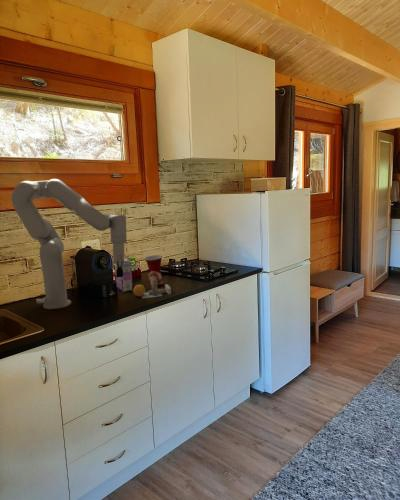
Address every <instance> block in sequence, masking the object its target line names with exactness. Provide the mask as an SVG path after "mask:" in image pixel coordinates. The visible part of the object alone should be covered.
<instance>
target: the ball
mask: <svg viewBox="0 0 400 500" xmlns="http://www.w3.org/2000/svg"><path fill="white" fill-rule="evenodd" d="M132 291H133V295H135V296H136V297H141V296H143V295H144V293H146V288H145V286H144V285H142V284H141V283H140V284H136V285H135V286H134V287H133V290H132Z"/></svg>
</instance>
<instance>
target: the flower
mask: <svg viewBox="0 0 400 500" xmlns="http://www.w3.org/2000/svg"><path fill="white" fill-rule="evenodd" d="M150 277H155V279H157V286H159V287H161V286H162V284H163V283H164V278H163V277H162V273H161V272H160V273H158V272H155V271H151V272H149V273H148V274H147V279H148V282H146V283H147V284H149V285H150V286H151V278H150Z"/></svg>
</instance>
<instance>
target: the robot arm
mask: <svg viewBox="0 0 400 500" xmlns="http://www.w3.org/2000/svg"><path fill="white" fill-rule="evenodd" d="M52 198H53V199H54V200H55V201H56V202H58V203H59V204H61V205H62V206H63V207H65V208H66V209H68V211H70V212H71V213H73V214H74V215H75V216H78V218H80V219H81V220H82V221H84V222H85V223H87V224H88V225H90V226H91V227H92V228H94V230H97V231H100V232H105V231H106V230H109V229H110V243H111V244H112V254H113V255H112V258H113V259H112V261H113V264H114V265H115V263H116V267H117V269H116V273H115V278H116V277H123V267H122V263H124V258H125V244H127V240H128V239H127V218H126V217H127V216H126V215H125V214H117V213H116V214H105V213H102V212H101V211H99V210H98V209H96V208H95V207H94V206H92V205H91V204H90V203H89V202H88V201H87V200H86V199H85V198H84V197H83V196H82V195H80V194H79V193H78V192H76V191H75V190H74V189H72V188H71V187H70V186H68V185H67V184H66V183H64V181H63V180H61V179H58V178H51V179H48V180H34V181H33V180H23V181H21V182H19V183H18V184H17V185H16V186H15V187H14V189H13V191H12V193H11V203H12V207H13V209H14V211H15V213H16V214H17V216H18V218H19V220H21V222H22V224H23V226H24V227H25V229H26V231H27V232H28V234H29V237H31V238H32V239H33V240H36V241H38V243H39V244H40V247H39V252H38V253H39V258H40V264H41V270H42V276H43V287H44V293H45V297H43V298H36V301H35V302H36V304H39V305H40V304H42V305H43V306H42V308H44V309H45V310H55V309H56V310H57V309H63V308H66V307H68V306H70V305H71V304H72V300H70V299H68V293H67V284H66V283H67V282H66V274H65V267H64V262H63V261H64V260H63V252H64V249H65V246H64V243H63V240H62V239H61V237H60V236H59V234H58V232H57V230H56V229H55V227H54V225H53V224H52V223H51V222H50V221H49V220H47V219H45V218H43V216H42V215H41V213H40V211H39V210H38V208H37V206H36V205H35V203H34V201H33V200H40V199H41V200H42V199H52Z"/></svg>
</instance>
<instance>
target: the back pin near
mask: <svg viewBox="0 0 400 500" xmlns="http://www.w3.org/2000/svg"><path fill="white" fill-rule="evenodd" d="M152 289H153V296H157V295H158V291H157V290H158V285H157V279H152Z"/></svg>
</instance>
